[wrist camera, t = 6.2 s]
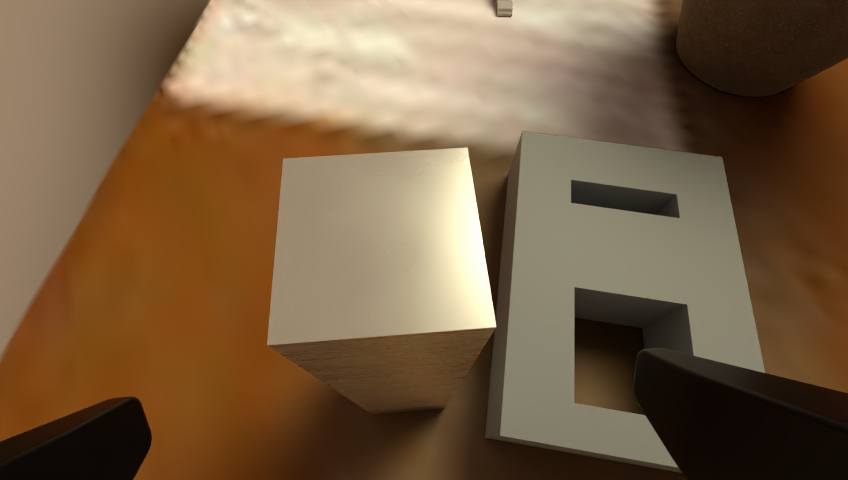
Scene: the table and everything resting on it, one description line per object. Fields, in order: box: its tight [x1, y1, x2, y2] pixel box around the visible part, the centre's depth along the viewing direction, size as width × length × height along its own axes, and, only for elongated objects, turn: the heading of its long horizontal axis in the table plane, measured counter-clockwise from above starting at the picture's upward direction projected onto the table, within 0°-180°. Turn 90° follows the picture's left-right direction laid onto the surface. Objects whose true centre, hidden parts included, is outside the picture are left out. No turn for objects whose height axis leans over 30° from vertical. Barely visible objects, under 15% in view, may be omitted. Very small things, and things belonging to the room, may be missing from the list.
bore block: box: [485, 131, 765, 473], centre depth 18 cm, size 13×9×4 cm
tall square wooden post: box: [267, 148, 496, 414], centre depth 12 cm, size 3×3×13 cm
